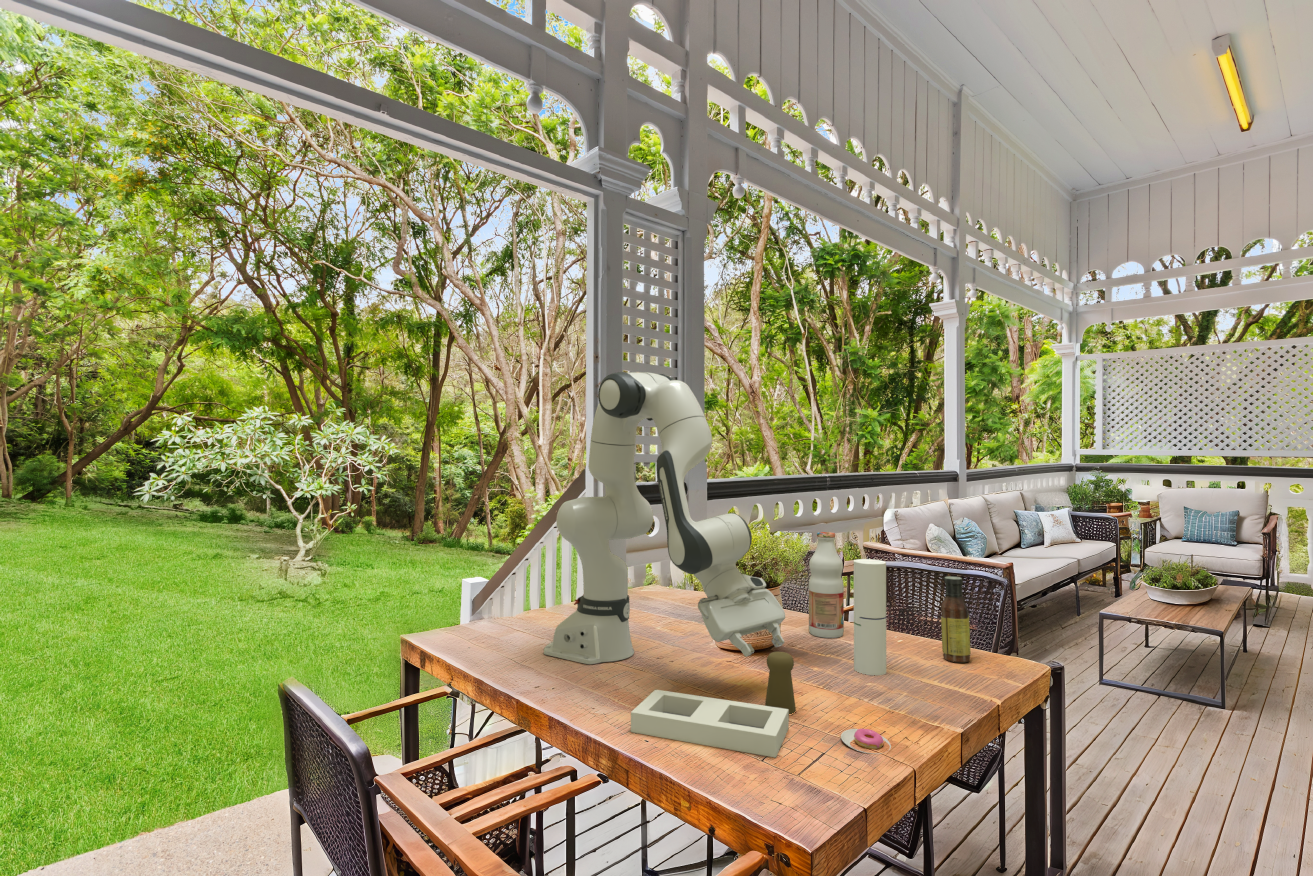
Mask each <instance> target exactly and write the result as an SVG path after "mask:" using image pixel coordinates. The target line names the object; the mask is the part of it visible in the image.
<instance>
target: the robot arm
mask: <svg viewBox="0 0 1313 876" xmlns="http://www.w3.org/2000/svg"><path fill="white" fill-rule="evenodd" d="M599 384H600V385H599V388H598V392H597V393H598V394H597V396H598V397H597V398H598V399H597V400H598V404H597V407H596V411H595V413H594V417H593V422H592V427H591V433H590V434H591V435H590V444H589V446H590V447H589V455H588V471H589V473H590V474H591V476H592V477H593V479H595V480H597V481H598V482H600V483H602V484H603V485H604V487H605V495H604V496H581V497H578V498H574V499H571V500H566V501H565V502H563V503H562V504H561V506H560V507H559V509H558V510H557V514H556V521H555V522H556V527H557V530H558V532H559V534H560V535H561V537H562V538H563V539H564V540H566V541H568V542H569V543H570V545H572V547H573V548H574V549H575V550H576V553H577V554H578V556H579V559H580V562H581V563H580V564H581V566H582V582H583V584H582V585H583V593H582V595H581V596H579V597H577V599H574V600H573V602H574V603H573V605H574V606H576V605H577V606H576V607H577V608H576V610H575V611H574V612H572V613H571V614H570V615H569V616H567V618H565V619H564V620H562V621H561V622H560V623H559V624H557V626H556V627H555V630H554V632H553V639H552V641H551V642H550V643H548V644H547V645H546V646H545V647H544V649H543V654H544V655H546V656H550V657H554V658H559V659H563V660H568V661H573V662H576V663H581V664H584V665H594V664H599V663H607V662H608V663H609V662H617V661H621V660H625V659H628V658H630V657H632V656H633V655H634V653H635V651H634V647H633V643H632V637H631V632H630V623H629V619H630V611H631V608H630V607H631V605H630V595H629V594H628V592H629V591H628V590H629V589H628V588H629V585H628V584H629V581H628V580H629V579H628V578H629V573H628V572H629V567H628V565H627V563H626V561H624V559H622V558H621V557H619V556H618V555H616V554H614V553H612V552H611V549H610V544H609V543H610V542H609V541H614V540H616V541H617V540H626V539H634V538H636V537H640V536H642V535H645V534H647V533H648V532H649V531H650V529H651V528H652V525H653V522H654V511H653V508H652V506H651V504H650V502H649V501H648V500H647V499H646V498H645V497H644V496H643V495H642V494H641V493H640V491H639V489H638V487H637V483H636V480H635V479H636V478H635V473H634V471H635V451H636V441H637V439H636V437H637V436H636V435H637V427H638V425H639V424H640V422H641V421H643V420H647V421H649V422H650V421H653V422H654V425H655V427H656V430H657V432H658V436H659V439H660V444H661V452H660V454H659V455H658V456H657V458H656V478H657V484H658V489H659V495H660V499H661V506H662V510H663V516H664V522H665V527H666V537H667V538H666V541H667V551H668V552H667V553H668V557H669V559H670V561H671V563H672V564H673V565H674V566H675V567H677V569H679V570H680V571H682V572H684V573H687V574H690V575H693V576H694V577H695V578H696V579H697V580H698V581H699V582H700V584H701V586H702V589H703V592H704V594H705V595H706V597H702V598H700V599H699V601H698V602H697V609H698V610H699V613H700V614H701V619H702V621H703V622H704V626H705V627H706V629H707V632H708V633H709V635H710V637H711V638H712V640H714V642H717V643H720V642H725V641H729V642H730V643H731V645H733V646H734V647H735V648H736V649H738V650H740V651H741V653H742V654H743V657H750V656H752V655H753V654H754V652H755V649H754V648H753V646H752V644H751V643H747V642H746V641H745V640H744V639H743V638H742V636H747V635H750V634H754V633H758V632H761V631H764V630H766V631H768V633H770V634H771V635H772V639H771V642H772V644H773V646H774V647H775V648H779V647H781V646H783V645H784V644H785V640H784V638H783V637H782V635H781V629H780V624H781V623H782V622H784V620H785V619H786V612H785V610H784V608H783V607H782V605H781V604H780V602H779V601H778V599H777V597H775V595H774V594H773V593H772V591H770V590H769V589H767V588H766V587H767V583H766V581H765V580H764V579H763V578H760V577H757V576H751V575H747V574H745V573H741V571H740V569H739V568H738V567H737V565H736V564H737V562H738V561H739V560H741V559H743V557H745V556H746V555H747V553H748V552H749V551H750V548H751V546H752V542H753V541H752V540H753V536H752V532H751V529H750V527H749V525H748V523H747V522H746V520H745V518H743V517H742V516H740V515H739V514H737V513H735V512H730V513H723V514H721V515H716V516H713V517H710V518H707V519H701V520H699V521H698V520H697V521H695V520H693V519H692V517H691V513H690V509H689V504H688V499H687V493H686V490H685V477H686V475H687V474H688V472H689V471H690V470H692V469H694V468H695V467H696V466H697V465H699V464H700V463H701V462H703V461H704V460H705V458H706V457H707V456H708V455H709V453H710V450H711V448H712V446H713V445H712V444H713V437H712V432H711V428H710V426H709V423H708V421H707V419H706V415H705V414H704V411H703V409H702V407H701V405H700V402H699V401H698V399H697V397H696V396H695V394H694V392H693V391H692V389H691V387H690V386H689V385H688V384H687V383H686V382H684V381H682V380H680V379H678V380H677V379H675V378H673V377H671V376H670V375H666V374H664V373H663V374H662V373H654V372H647V371H638V372H634V371H633V372H632V371H631V372H625V371H618V372H613V373H610V374H608V375H606V376H605V377H604V378H603V379H602V381H601V382H600V383H599Z"/></svg>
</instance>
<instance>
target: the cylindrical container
mask: <svg viewBox="0 0 1313 876" xmlns="http://www.w3.org/2000/svg"><path fill="white" fill-rule="evenodd" d="M853 670H854V671H855V672H856V671H857V672H856V673H858V672H859V674H861V673H862V675H865V674H866V676H874V675H875V676H883V675H885V674H886V675H887V562H886V561H884V560H880V559H869V558H860V559H859V558H858V559H853ZM875 676H874V677H875Z"/></svg>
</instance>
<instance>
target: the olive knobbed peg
mask: <svg viewBox="0 0 1313 876" xmlns="http://www.w3.org/2000/svg"><path fill="white" fill-rule="evenodd" d="M794 663H795V660H794V658H793V656H792V655H791V654H790V653H789V652H784V651H773V652H770V653H769V654H768V655H767V657H766V665H767V669H768V670H769V672H768V681H767V686H766V695H765V702H764V703H765V704H764V706H770V707H777V708H783V709H789V714H792V713H794V712H795V711H796V712H797V707H796V701H795V700H796V699H795V694H794V686H793V685H794V684H793V677H792V670H793V669H794V666H795V664H794Z"/></svg>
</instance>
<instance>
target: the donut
mask: <svg viewBox="0 0 1313 876" xmlns="http://www.w3.org/2000/svg"><path fill="white" fill-rule="evenodd" d="M840 739H841V740H842V742H843V744H845V745H846V746H848V747H849V748H850V749H853V750H855V751H857V752H860V753H862V754H863V753H864V754H869V755H879V754H880V755H881V754H882V752H878V753H872V752H866V751H862V750H860V749H859V750H858V749H857V748H855V747H853V746H852V745H851V742H852V741H855V743H856V744H857V745H858V746H860V747H861V748H864V749H869V750H879V749H881V748H882V747H883V746H884V742H886V744H887V745H889V749H888V750H887V752H889V751H890V750H891V747H892V745H891V742H890V741H889V740H888V739H887V738H885V737H884V736H882V735H881V734H879V733H878V732H877V731H875V730H873V729H868V728H850V729H847V730H844V731H842V733H841V734H840ZM884 753H886V751H885V752H883V754H884Z"/></svg>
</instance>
